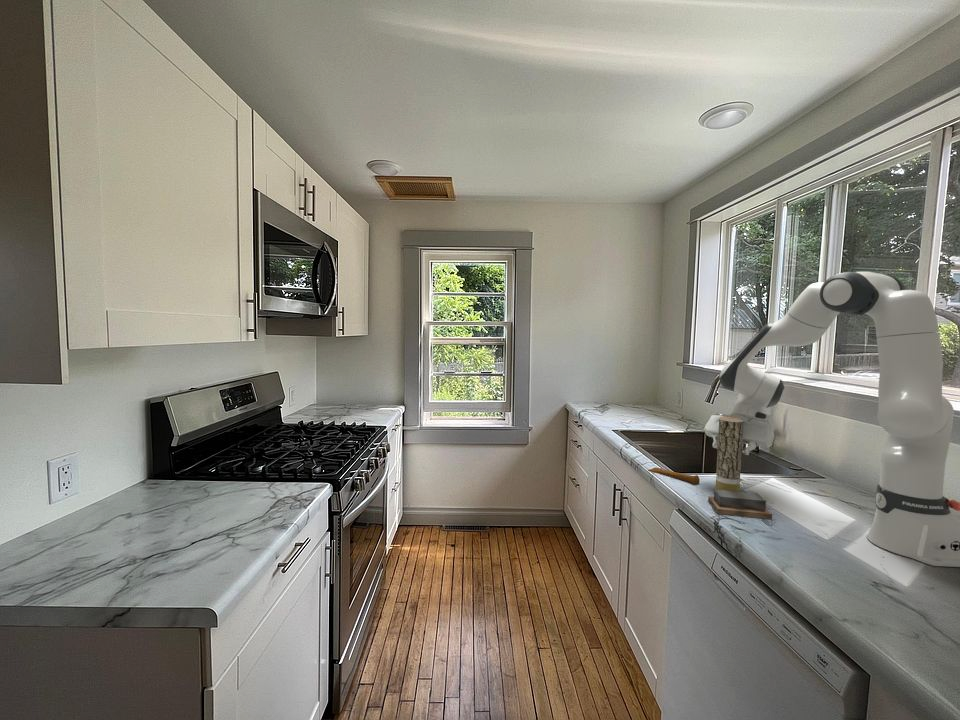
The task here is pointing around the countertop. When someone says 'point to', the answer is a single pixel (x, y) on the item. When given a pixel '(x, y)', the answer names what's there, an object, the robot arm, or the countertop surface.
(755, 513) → the stand
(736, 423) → the bark patterned cylinder
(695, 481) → the primitive tool
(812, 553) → the countertop surface
